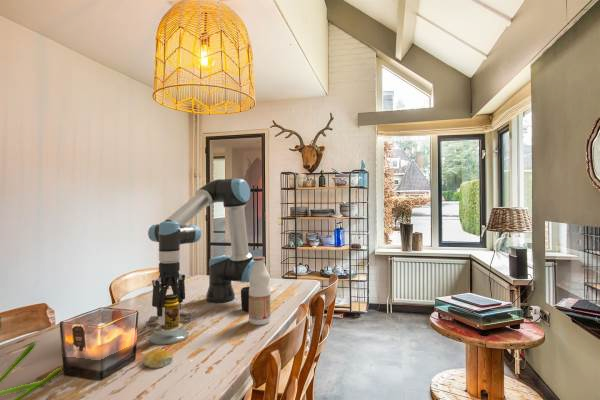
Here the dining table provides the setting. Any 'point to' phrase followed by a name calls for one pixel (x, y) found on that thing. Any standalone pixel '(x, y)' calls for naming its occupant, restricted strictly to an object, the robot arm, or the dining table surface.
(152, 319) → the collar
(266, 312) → the fruit juice
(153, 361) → the mossy stone
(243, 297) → the pen holder
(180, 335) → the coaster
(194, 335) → the dining table surface
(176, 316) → the condiment
